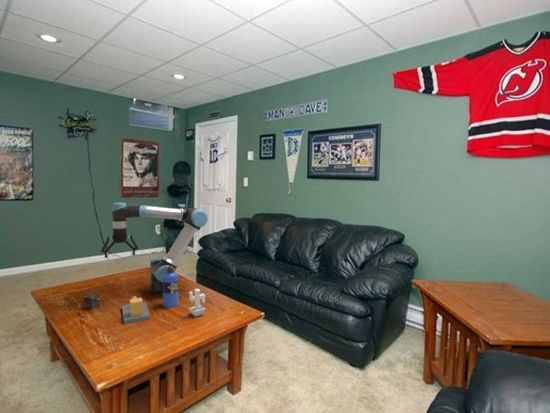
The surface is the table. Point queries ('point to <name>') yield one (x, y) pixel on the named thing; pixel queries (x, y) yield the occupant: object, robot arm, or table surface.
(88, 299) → the box
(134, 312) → the tan rectangular block
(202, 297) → the figurine
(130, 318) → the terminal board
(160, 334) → the table surface
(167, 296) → the water bottle
